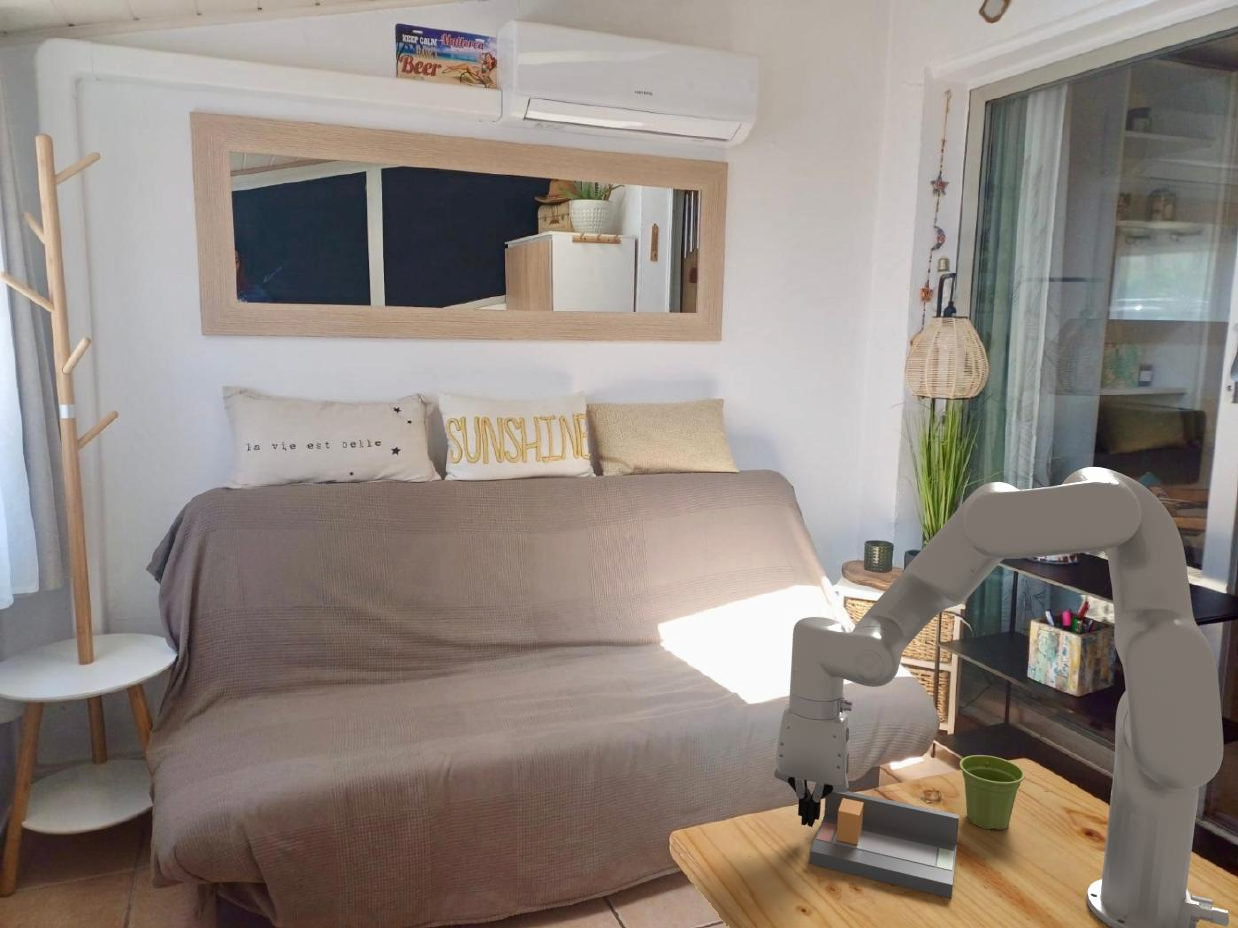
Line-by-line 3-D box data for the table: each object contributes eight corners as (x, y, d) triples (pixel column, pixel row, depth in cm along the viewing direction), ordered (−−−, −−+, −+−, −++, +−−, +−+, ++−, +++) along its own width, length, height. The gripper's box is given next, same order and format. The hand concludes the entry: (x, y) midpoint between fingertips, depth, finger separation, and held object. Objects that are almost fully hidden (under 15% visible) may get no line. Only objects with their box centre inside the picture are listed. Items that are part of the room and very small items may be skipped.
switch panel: (956, 852, 134) (959, 814, 133) (951, 898, 123) (954, 856, 122) (824, 823, 141) (827, 786, 140) (809, 863, 130) (811, 824, 129)
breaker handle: (861, 830, 135) (863, 802, 134) (857, 844, 131) (859, 815, 131) (841, 826, 136) (842, 797, 135) (836, 839, 132) (838, 810, 132)
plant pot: (944, 818, 144) (948, 766, 142) (973, 799, 150) (977, 748, 149) (1002, 843, 137) (1007, 789, 136) (1030, 822, 143) (1035, 770, 142)
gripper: (871, 703, 134) (863, 820, 136) (770, 685, 140) (765, 799, 142) (864, 722, 127) (856, 846, 130) (758, 703, 133) (752, 822, 135)
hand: (808, 821), depth 136 cm, fingers closed
